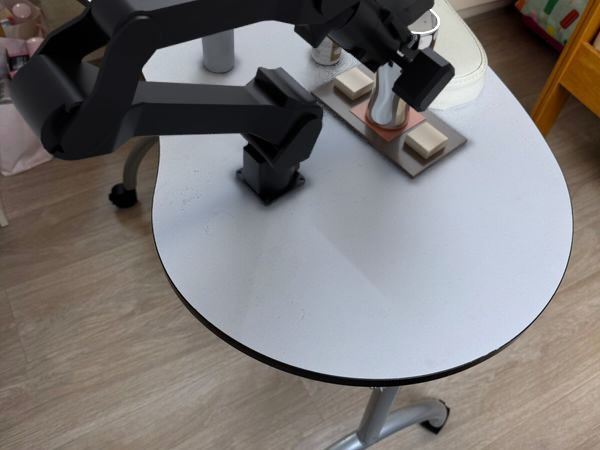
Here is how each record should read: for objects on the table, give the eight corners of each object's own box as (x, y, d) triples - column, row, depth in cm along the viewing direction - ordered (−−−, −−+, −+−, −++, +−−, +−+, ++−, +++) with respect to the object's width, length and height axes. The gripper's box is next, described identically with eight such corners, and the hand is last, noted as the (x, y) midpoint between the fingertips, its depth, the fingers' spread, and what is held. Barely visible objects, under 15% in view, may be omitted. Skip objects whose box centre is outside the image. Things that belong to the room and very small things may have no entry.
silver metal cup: (355, 122, 79) (377, 24, 68) (370, 93, 84) (392, -5, 72) (405, 138, 78) (435, 41, 67) (417, 107, 82) (447, 11, 71)
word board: (412, 179, 75) (415, 168, 74) (310, 94, 84) (311, 82, 82) (466, 142, 80) (471, 131, 78) (365, 65, 88) (367, 53, 87)
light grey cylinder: (198, 67, 85) (192, 4, 77) (212, 50, 88) (208, -13, 80) (226, 76, 84) (223, 13, 76) (239, 59, 87) (238, -4, 79)
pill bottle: (337, 68, 87) (344, 23, 81) (308, 63, 88) (313, 17, 81) (342, 50, 90) (349, 5, 84) (314, 45, 90) (319, 0, 84)
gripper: (470, 0, 56) (504, 57, 70) (346, -84, 64) (397, -19, 78) (394, 93, 59) (440, 130, 73) (284, 2, 67) (344, 50, 81)
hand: (405, 69), depth 76 cm, fingers closed on silver metal cup, 6 cm apart
